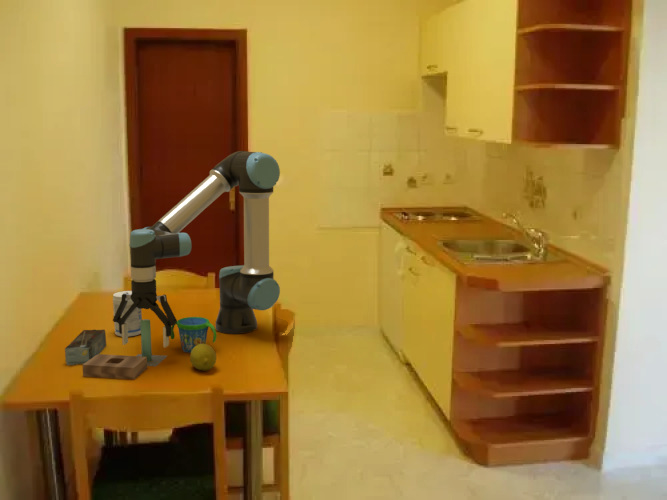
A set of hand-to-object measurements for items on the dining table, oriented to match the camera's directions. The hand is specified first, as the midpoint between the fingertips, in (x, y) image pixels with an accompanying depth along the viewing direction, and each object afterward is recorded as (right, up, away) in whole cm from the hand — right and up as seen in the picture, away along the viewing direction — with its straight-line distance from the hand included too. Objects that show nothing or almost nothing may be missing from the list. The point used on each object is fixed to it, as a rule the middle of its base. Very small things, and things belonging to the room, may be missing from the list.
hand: (145, 344), depth 235 cm
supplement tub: (-14, 0, +30) cm, 33 cm away
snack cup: (+13, -4, +12) cm, 18 cm away
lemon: (+19, -7, -6) cm, 21 cm away
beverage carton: (-21, -5, +6) cm, 22 cm away
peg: (0, -5, +1) cm, 5 cm away
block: (-7, -7, -10) cm, 14 cm away
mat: (0, -5, +1) cm, 6 cm away
